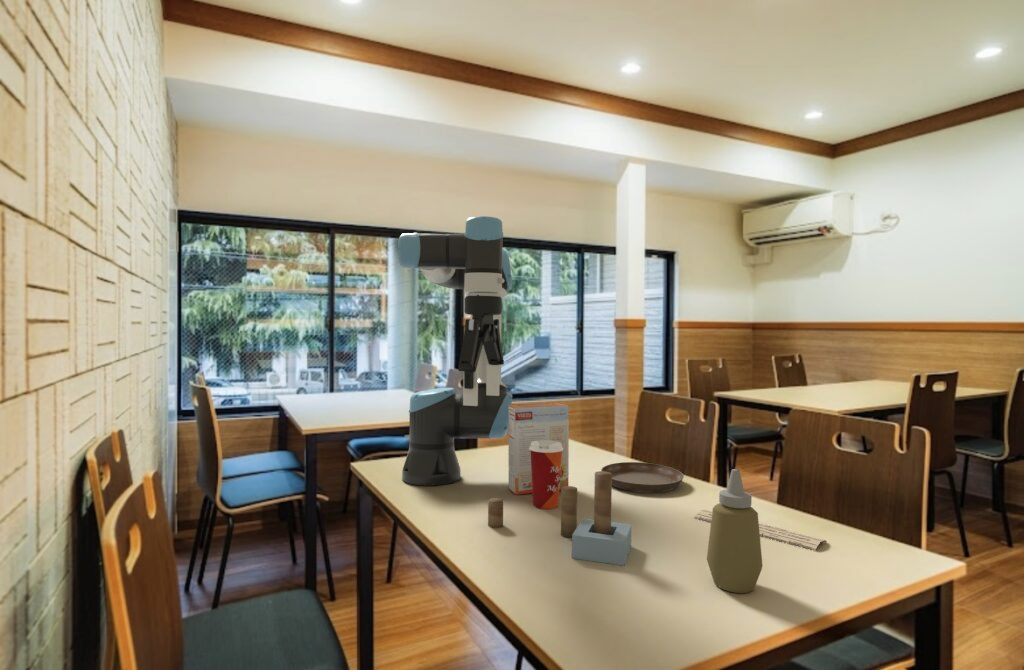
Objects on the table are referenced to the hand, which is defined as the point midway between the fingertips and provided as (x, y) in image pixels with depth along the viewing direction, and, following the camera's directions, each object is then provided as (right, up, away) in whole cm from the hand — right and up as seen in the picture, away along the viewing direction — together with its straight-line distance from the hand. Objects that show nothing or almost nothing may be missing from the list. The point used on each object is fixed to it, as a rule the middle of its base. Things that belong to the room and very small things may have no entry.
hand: (482, 400), depth 115 cm
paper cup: (+14, -25, +12) cm, 31 cm away
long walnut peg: (+22, -25, -14) cm, 36 cm away
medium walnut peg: (+17, -25, -6) cm, 31 cm away
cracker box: (+12, -25, +24) cm, 37 cm away
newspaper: (+55, -26, -2) cm, 61 cm away
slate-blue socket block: (+22, -25, -14) cm, 36 cm away
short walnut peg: (+3, -25, -1) cm, 25 cm away
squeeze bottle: (+41, -26, -27) cm, 55 cm away
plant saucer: (+39, -25, +31) cm, 56 cm away
